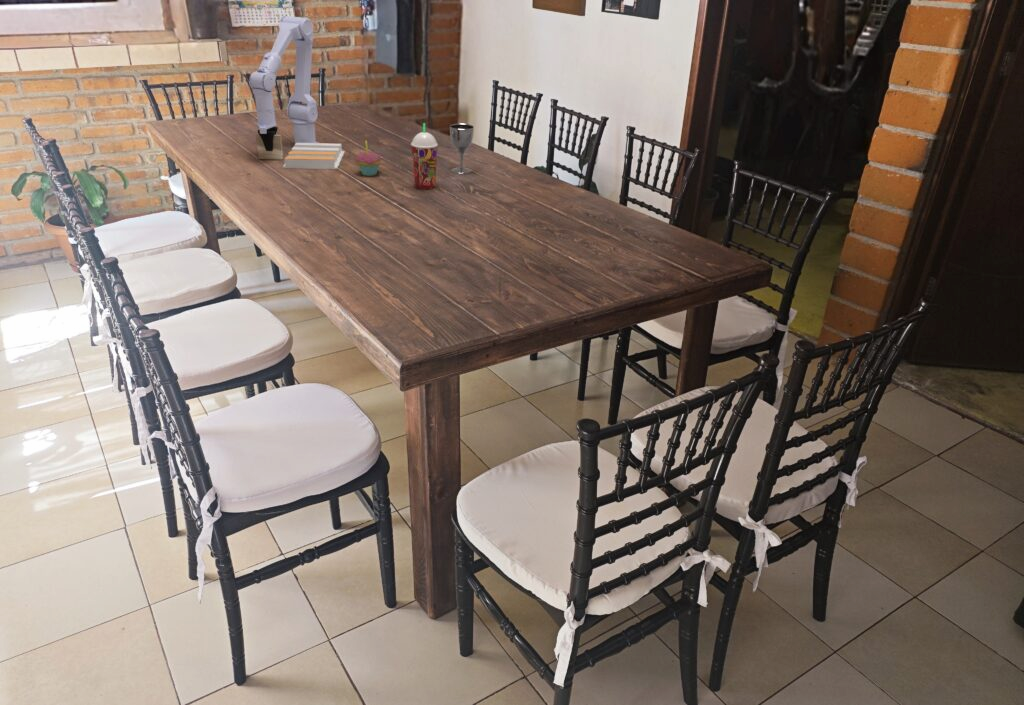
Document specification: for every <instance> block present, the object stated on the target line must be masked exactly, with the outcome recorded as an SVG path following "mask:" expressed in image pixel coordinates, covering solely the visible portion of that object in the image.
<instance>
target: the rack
mask: <svg viewBox="0 0 1024 705" xmlns="http://www.w3.org/2000/svg"><path fill="white" fill-rule="evenodd" d="M294 145H295V147H293V146H292V148H291V150H290V151H289V152H288V155H285V157H284V164H283V165H282V169H303V170H305V169H306V170H311V169H312V170H338V169H339V167H340V164H341V162H342V160H343V158H344V155H345V153H346V151H345V150H343V146H342V145H343V144H342V143H325V142H324V143H323V142H322V143H320V142H318V143H296V144H295V143H294ZM342 157H343V158H342ZM338 166H339V167H338ZM337 168H338V169H337Z"/></svg>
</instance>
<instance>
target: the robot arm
mask: <svg viewBox="0 0 1024 705" xmlns="http://www.w3.org/2000/svg"><path fill="white" fill-rule="evenodd" d="M279 20H280V21H279V22H278V25H277V26H278V33H277V36H276V38H275V40H274V42H273V43H274V44H273V45H272V48H271V50H270V52H269V51H268V52H266V53H265V54H264V55H263V58H262V60H261V62H260V63H259V66H258V67H257V70H255V71H253V72H252V73H251V75H250V76H249V81H248V84H249V87H250V88H251V90H252V94H253V95H254V100H255V106H256V108H255V109H256V116H257V121H255V122H254V126H258V128H259V129H257V134H259V135H260V137H261V139H262V141H263V143H264V146H265V149H266V151H273V138H274V135H277V131H278V130H279V128H278V126H277V120H276V114H275V104H274V95H273V91H274V88H275V87H276V79H277V74H278V72H279V70H280V68H281V66H282V64H283V63H282V62H283V61H282V59H281V58H282V56H283V54H284V53H285V51H286V50H287V48H288V47H289V45H290V44H291V42H292V43H293V44H294V45H295V47H296V48H295V49H296V50H295V52H296V53H295V73H294V74H295V77H294V78H295V79H294V93H293V94H292V95H291V96H290V97H288V104H287V106H286V115H287V118H288V119H289V120H290V122H291V123H292V125H293V126H292V127H293V136H294V137H293V138H294V145H293V146H292V148H293V147H295V144H296V143H319V141H316V140H317V139H316V128H315V123H316V121H317V119H318V115H319V112H318V107H317V103H318V102H317V100H315V99H314V97H313V96H311V87H312V86H311V80H312V62H313V61H312V59H313V43H314V28H315V27H314V25H313V23H312V21H311V20H310V18H309V17H306V16H305V17H302V16H301V17H299V16H291V15H282V16H281V17H280V19H279Z"/></svg>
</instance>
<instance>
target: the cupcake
mask: <svg viewBox="0 0 1024 705" xmlns="http://www.w3.org/2000/svg"><path fill="white" fill-rule="evenodd" d="M364 143H365V151H363V152H361V153H359V154H358V155H357V156H356V157H355V163H356V164H357V165H358V167H359V169H360V171H361V174H362V175H363V176H367V177H368V176H369V177H372V176H376V175H377V174H378V169H379V167H380V165H381V164H382V157H381V156H380V155H379V154H377V153H375V152H372V151H369V147H368V146H369V145H368V141H367V140H365V142H364Z"/></svg>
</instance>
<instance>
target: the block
mask: <svg viewBox="0 0 1024 705" xmlns="http://www.w3.org/2000/svg"><path fill="white" fill-rule="evenodd" d="M255 140H256V149H257V154H258V156H257V157H258V160H284V151H283V150H284V149H283V142H282V141H283V140H282V134H276V135H274V138H273V151H266V149H265V146H264V143H263V141H262V139H261V137H260V135H259V134H258V133H257V134H256V135H255Z"/></svg>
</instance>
